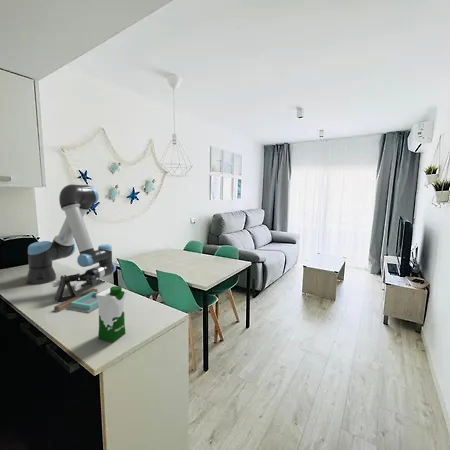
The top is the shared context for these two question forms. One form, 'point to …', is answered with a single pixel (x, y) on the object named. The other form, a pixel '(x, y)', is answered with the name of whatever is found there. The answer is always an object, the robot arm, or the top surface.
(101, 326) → the milk carton
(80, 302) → the cradle
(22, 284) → the top surface
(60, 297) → the phone stand
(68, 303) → the strip
